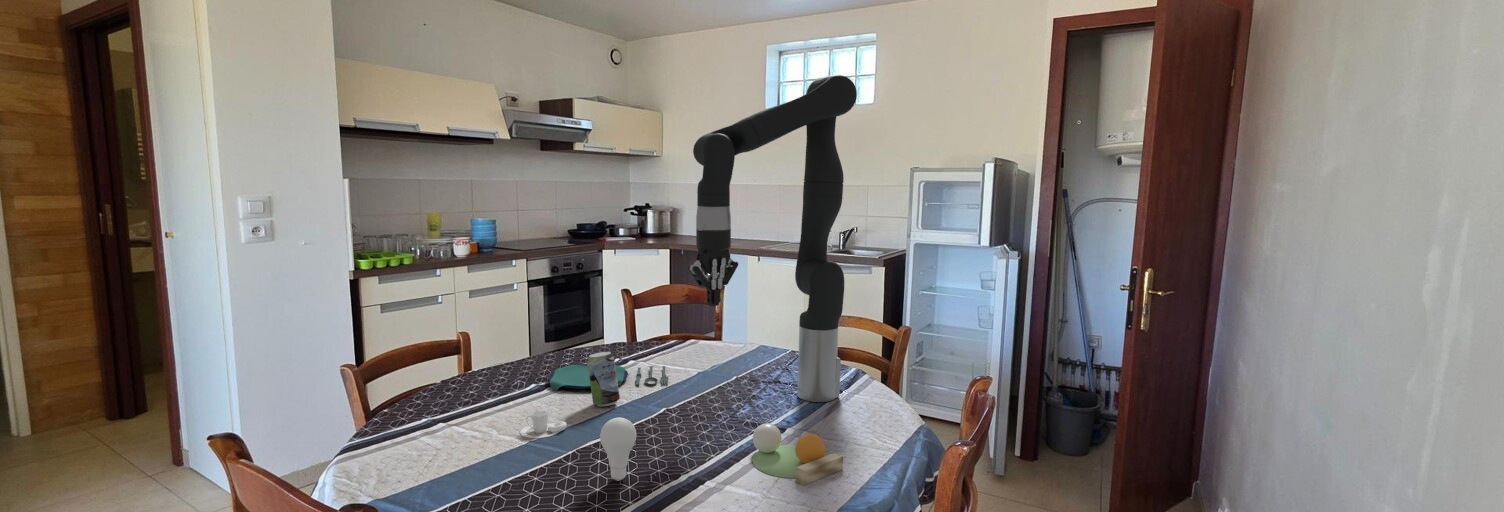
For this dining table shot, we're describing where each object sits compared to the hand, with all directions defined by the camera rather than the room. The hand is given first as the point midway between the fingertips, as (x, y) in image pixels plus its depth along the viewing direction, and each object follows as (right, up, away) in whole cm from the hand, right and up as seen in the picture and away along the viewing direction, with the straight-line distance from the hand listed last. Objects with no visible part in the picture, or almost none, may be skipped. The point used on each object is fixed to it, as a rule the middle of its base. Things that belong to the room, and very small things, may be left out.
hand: (713, 305), depth 150 cm
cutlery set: (-28, -21, +24) cm, 42 cm away
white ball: (+11, -24, -20) cm, 33 cm away
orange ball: (+19, -25, -25) cm, 40 cm away
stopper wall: (+20, -28, -29) cm, 45 cm away
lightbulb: (-14, -28, -33) cm, 45 cm away
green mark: (+16, -27, -24) cm, 39 cm away
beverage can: (-25, -23, +5) cm, 35 cm away
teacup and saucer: (-33, -26, -14) cm, 44 cm away
